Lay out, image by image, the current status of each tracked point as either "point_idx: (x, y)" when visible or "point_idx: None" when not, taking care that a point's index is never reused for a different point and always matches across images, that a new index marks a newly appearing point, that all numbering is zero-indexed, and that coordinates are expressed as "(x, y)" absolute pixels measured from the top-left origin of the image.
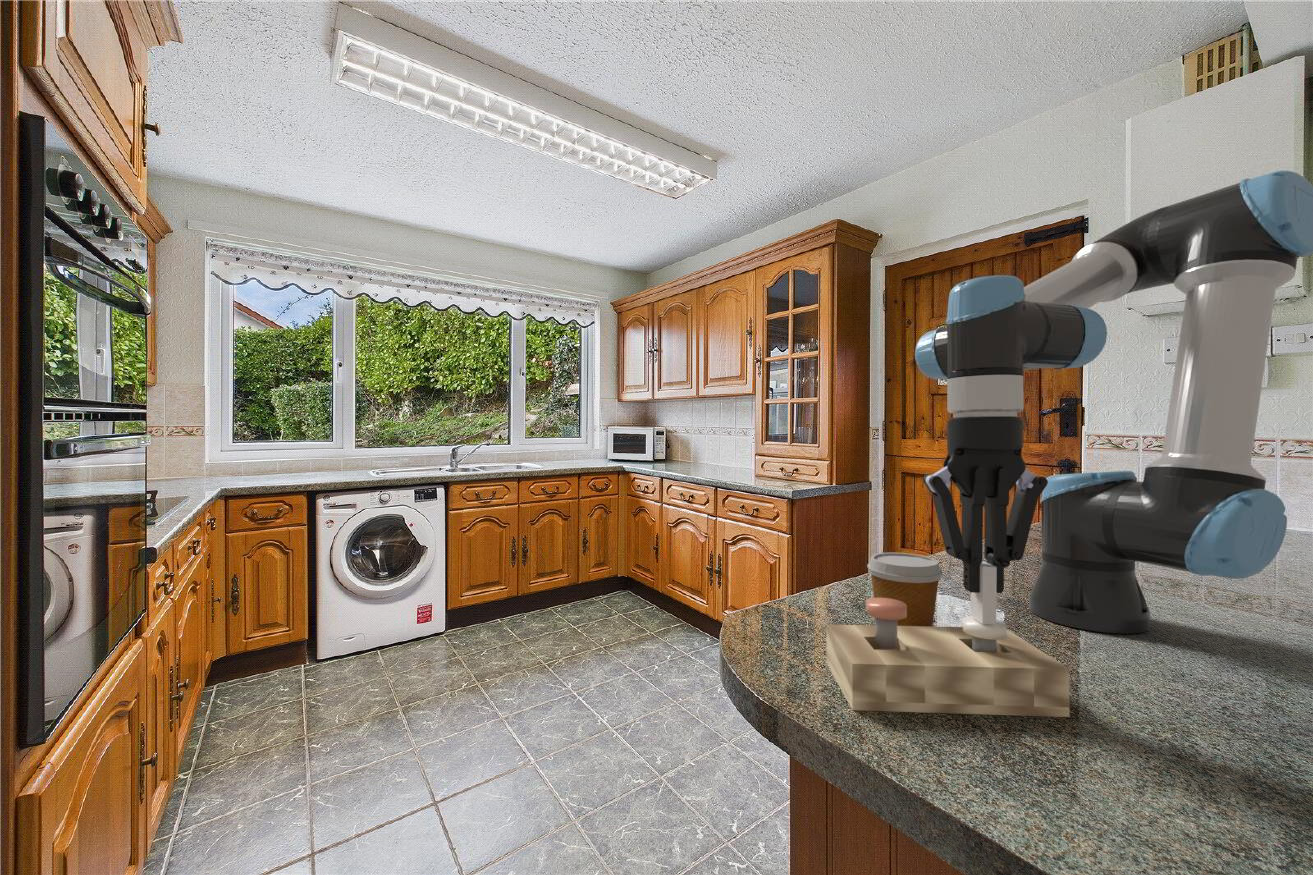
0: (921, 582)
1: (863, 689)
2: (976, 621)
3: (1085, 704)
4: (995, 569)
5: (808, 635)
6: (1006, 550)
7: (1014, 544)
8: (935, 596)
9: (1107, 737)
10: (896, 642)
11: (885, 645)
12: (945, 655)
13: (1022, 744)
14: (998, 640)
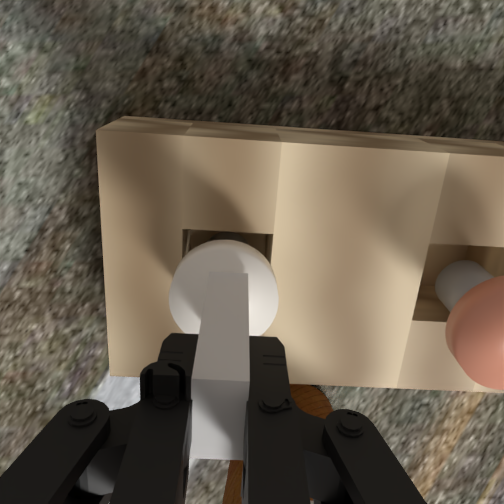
0: None
1: None
2: None
3: (58, 170)
4: (196, 372)
5: (459, 458)
6: (130, 434)
7: (79, 459)
8: (236, 488)
9: (96, 34)
10: (451, 272)
11: (479, 265)
12: (360, 213)
13: (288, 6)
14: None
